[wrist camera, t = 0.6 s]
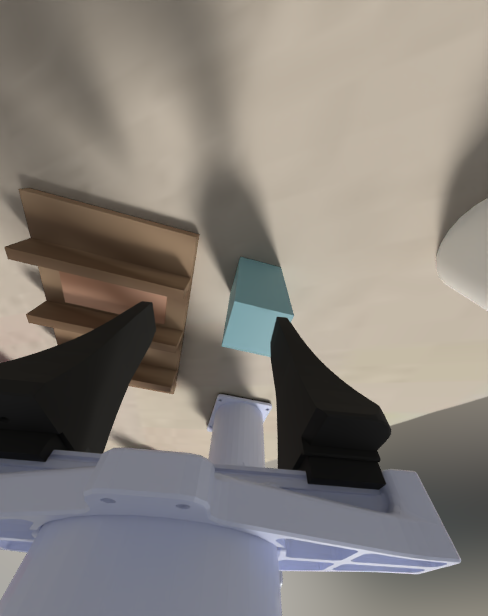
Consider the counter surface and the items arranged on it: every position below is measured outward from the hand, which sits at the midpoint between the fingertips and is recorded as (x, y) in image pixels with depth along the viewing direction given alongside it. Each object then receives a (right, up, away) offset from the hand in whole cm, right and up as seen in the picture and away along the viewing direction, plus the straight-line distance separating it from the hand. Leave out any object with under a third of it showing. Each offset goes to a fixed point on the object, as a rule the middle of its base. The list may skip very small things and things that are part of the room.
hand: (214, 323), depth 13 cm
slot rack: (-12, 0, +12) cm, 17 cm away
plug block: (+3, +4, +9) cm, 10 cm away
